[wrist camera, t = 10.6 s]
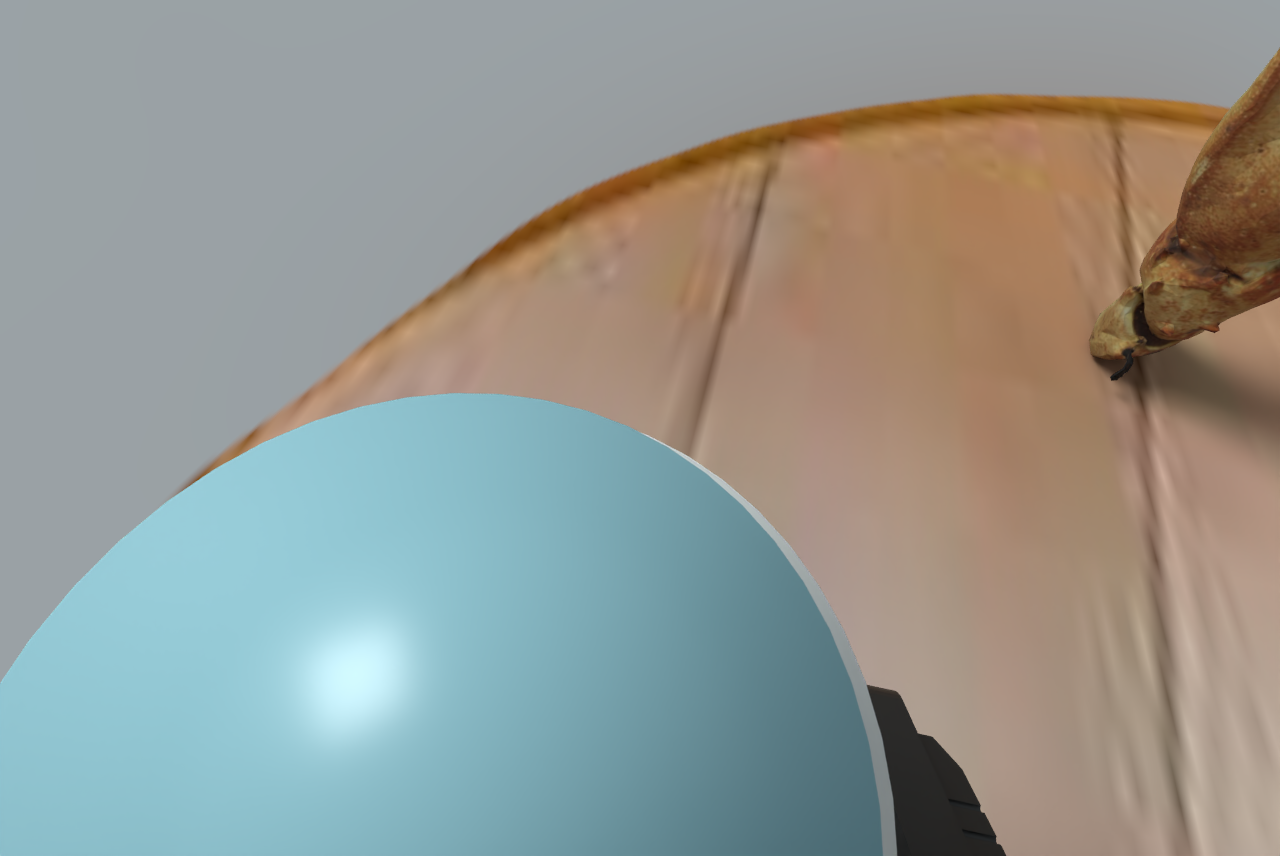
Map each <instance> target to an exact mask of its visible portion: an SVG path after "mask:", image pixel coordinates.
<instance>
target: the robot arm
mask: <svg viewBox="0 0 1280 856" xmlns="http://www.w3.org/2000/svg"><path fill="white" fill-rule="evenodd" d="M867 688H868V692H869V695H870V698H871V702H872V705H873V709H874V712H875V715H876V719H877V722H878V726H879V729H880V732H881V736H882V740H883V745H884V751H885V756H886V762H887V767H888V773H889V779H890V784H891V790H892V795H893V803H894V817H895V832H896V846H897V856H1006V854H1005V852H1004V850H1003V848H1002V846H1001V845H999V844H997V843H996V835H995V833H994V831H993V829H992V827H991V825H990V823H989V821H988V819H987V817H986V815H985V813H982V812H981V811H980V806H981V805H980V803H979V801H978V799H977V797H976V796H975V794H974V792H973V790H972V788H971V786H970V784H969V782H968V780H967V778H966V776H965V774H964V772H963V770H962V769H961V768H960V767H959V765H958V764H957V763H956V762H955V761H954V760H953V759H952V758H951V757H950V756H949V754H948V753H947V752H946V751H945V750H944V749H943V748H942V747H941V746H940V745H939V743H938V742H937V741H936V740H935V739H934V738H933V737H931V736H927V735H922V734H918V733H917V730H916V728H915V726H914V724H913V722H912V719H911V717H910V715H909V713H908V711H907V709H906V706H905V704H904V702H903V700H902V698H901V696H900V695H899V694H898V692H896V691H893V690H889V689H884V688H879V687H874V686H870V685H867Z"/></svg>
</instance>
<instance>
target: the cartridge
mask: <svg viewBox="0 0 1280 856" xmlns="http://www.w3.org/2000/svg"><path fill="white" fill-rule="evenodd" d="M0 856H897V846H896V832H895V817H894V803H893V795H892V790H891V784H890V779H889V773H888V767H887V762H886V756H885V751H884V745H883V740H882V736H881V732H880V729H879V726H878V722H877V719H876V715H875V712H874V709H873V705H872V702H871V698H870V695H869V692H868V688H867V685H866V682H865V679H864V677H863V675H862V672H861V670H860V667H859V665H858V663H857V660H856V658H855V655H854V653H853V651H852V648H851V646H850V644H849V641H848V639H847V636H846V634H845V632H844V630H843V628H842V626H841V624H840V623H839V621H838V619H837V617H836V615H835V614H834V612H833V610H832V608H831V606H830V605H829V603H828V601H827V599H826V598H825V596H824V594H823V592H822V590H821V589H820V587H819V585H818V584H817V582H816V581H815V580H814V578H813V577H812V575H811V574H810V573H809V571H808V570H807V568H806V567H805V566H804V564H803V563H802V562H801V560H800V559H799V557H798V556H797V555H796V553H795V552H794V550H793V549H792V548H791V546H790V545H789V544H788V543H787V542H786V541H785V539H784V538H783V537H782V536H781V535H780V534H779V533H778V532H777V531H776V530H775V528H774V527H773V526H772V525H771V524H770V523H769V522H768V521H767V520H766V519H765V518H764V516H763V515H762V514H761V513H760V512H759V511H758V510H757V509H756V508H755V507H754V506H752V505H751V504H750V503H749V502H748V501H747V500H745V499H744V498H743V497H742V496H741V495H740V494H739V493H737V492H736V491H735V490H734V489H733V488H732V487H731V486H729V485H728V484H727V483H726V482H725V481H724V480H722V479H721V478H719V477H718V476H716V475H715V474H713V473H712V472H710V471H709V470H707V469H706V468H704V467H703V466H702V465H700V464H699V463H697V462H696V461H694V460H693V459H691V458H690V457H688V456H687V455H685V454H683V453H681V452H679V451H677V450H675V449H673V448H671V447H669V446H668V445H666V444H664V443H662V442H660V441H658V440H656V439H654V438H652V437H650V436H648V435H646V434H643V433H640V432H638V431H636V430H634V429H632V428H630V427H628V426H626V425H623V424H620V423H618V422H615V421H612V420H610V419H607V418H605V417H602V416H599V415H597V414H594V413H591V412H589V411H586V410H582V409H578V408H574V407H570V406H566V405H562V404H558V403H554V402H550V401H546V400H540V399H533V398H525V397H517V396H510V395H502V394H465V393H451V394H440V395H429V396H419V397H408V398H402V399H397V400H392V401H387V402H382V403H377V404H372V405H368V406H363V407H358V408H355V409H352V410H349V411H345V412H342V413H339V414H336V415H333V416H329V417H326V418H323V419H320V420H317V421H313V422H310V423H308V424H306V425H303V426H301V427H299V428H296V429H294V430H292V431H289V432H287V433H285V434H282V435H280V436H278V437H275V438H273V439H271V440H268V441H266V442H263V443H262V444H260V445H258V446H256V447H254V448H252V449H251V450H249V451H247V452H245V453H243V454H241V455H240V456H238V457H236V458H234V459H232V460H231V461H229V462H227V463H225V464H223V465H221V466H220V467H218V468H216V469H214V470H213V471H211V472H210V473H208V474H207V475H205V476H204V477H202V478H201V479H199V480H198V481H197V482H195V483H194V484H192V485H191V486H189V487H188V488H186V489H185V490H183V491H182V492H180V493H179V494H177V495H176V496H174V497H173V498H172V499H170V500H169V501H167V502H166V503H165V504H163V505H162V506H161V507H160V508H159V509H157V510H156V511H155V512H154V513H153V514H151V515H150V516H149V517H148V518H147V519H145V520H144V521H143V522H142V523H140V524H139V525H138V526H137V527H136V528H135V529H133V530H132V531H131V532H130V533H129V534H127V535H126V536H125V537H124V538H123V539H121V540H120V541H119V542H118V543H117V544H116V545H115V546H114V547H113V548H112V549H111V550H110V551H109V552H108V553H107V554H106V555H105V556H104V557H103V558H102V559H101V560H100V561H99V562H98V563H97V564H96V565H95V566H94V567H93V568H92V569H91V570H90V571H89V572H88V573H87V574H86V575H85V576H84V577H83V578H82V579H81V580H80V581H79V582H78V583H77V584H76V585H75V586H74V587H73V588H72V589H71V591H70V592H69V593H68V594H67V595H66V597H65V598H64V599H63V600H62V601H61V603H60V604H59V605H58V606H57V607H56V609H55V610H54V611H53V612H52V613H51V615H50V616H49V617H48V618H47V619H46V621H45V622H44V623H43V624H42V626H41V627H40V628H39V629H38V630H37V632H36V633H35V634H34V635H33V636H32V638H31V639H30V640H29V642H28V643H27V645H26V646H25V648H24V649H23V651H22V652H21V654H20V655H19V656H18V658H17V659H16V661H15V662H14V664H13V665H12V667H11V668H10V670H9V671H8V673H7V674H6V676H5V677H4V679H3V680H2V681H1V683H0Z"/></svg>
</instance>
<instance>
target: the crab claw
mask: <svg viewBox="0 0 1280 856" xmlns="http://www.w3.org/2000/svg"><path fill="white" fill-rule="evenodd" d="M1140 275H1141V281H1142V283H1141V284H1139V285H1138V286H1136V287H1129V288H1128V289H1126V290H1125V292H1124V293H1123V294H1122V295H1121V297H1120V298H1119V299H1117V300H1116V301H1115V302H1113V303H1112V304H1111V305H1110V306H1109V307H1108V308H1106V309H1105V310H1104V311H1103V312H1102V313H1100V315H1099V317H1098V319H1097V321H1096V323H1095V326H1094V329H1093V332H1092V334H1091V337H1090V340H1089V342H1090V351H1091V355H1092V356H1094V357H1098V358H1102V359H1109V360H1117V359H1127V362H1126V364H1125V365H1124V367H1123V369H1121V370H1120V371H1118V372H1116V373H1115V374H1113V375H1112V376H1111V377H1110V378H1111V381H1113V380H1118V378H1120V377H1122V375H1123V374H1125V373H1126V372H1128V371H1129V369H1130V368H1131V366H1132V364H1133V358H1132V357H1135V356H1144V355H1148V354H1153V353H1156V352H1159V351H1161V350H1164V349H1166V348H1168V347H1171V346H1173V345H1176V344H1177V343H1179V342H1180V341H1182V340H1185V339H1189V338H1191V337H1193V336H1195V335H1198V334H1200V333H1202V332H1203V331H1204V330H1207V331H1210V332H1214V333H1215V332H1217V331H1220V330H1219V327H1218V326H1219V324H1220V323H1221V322H1223V321H1225V320H1227V319H1229V318H1231V317H1234V316H1236V315H1238V314H1241V313H1243V312H1245V311H1248V310H1250V309H1252V308H1254V307H1257V306H1260V305H1262V304H1265V303H1267V302H1270V301H1272V300H1274V299H1277V298H1279V297H1280V49H1279V50H1278V51H1277V53H1276V54H1275V55H1274V57H1273V58H1272V59H1271V60H1270V62H1269V63H1268V64H1267V65H1266V67H1265V68H1264V70H1263V71H1262V72H1261V73H1260V75H1259V76H1258V77H1257V78H1256V80H1255V81H1254V82H1253V84H1252V85H1251V86H1250V88H1249V89H1248V90H1247V91H1246V92H1245V93H1244V94H1243V95H1242V96H1241V97H1240V98H1239V100H1238V101H1237V102H1236V103H1235V104H1234V105H1233V106H1232V107H1231V109H1230V110H1229V111H1228V112H1227V113H1226V115H1225V116H1224V117H1223V119H1222V120H1221V122H1220V123H1219V124H1218V126H1217V127H1216V129H1215V130H1214V131H1213V133H1212V134H1211V136H1210V137H1209V139H1208V140H1207V142H1206V143H1205V145H1204V147H1203V148H1202V150H1201V152H1200V154H1199V155H1198V157H1197V159H1196V161H1195V163H1194V165H1193V167H1192V170H1191V173H1190V175H1189V177H1188V179H1187V182H1186V184H1185V187H1184V190H1183V193H1182V197H1181V201H1180V205H1179V209H1178V213H1177V218H1176V219H1175V220H1174V221H1173V222H1172V223H1171V224H1170V225H1169V226H1168V227H1167V228H1166V229H1165V230H1164V231H1163V233H1162V234H1161V235H1160V236H1159V238H1158V239H1157V240H1156V242H1155V243H1154V244H1153V246H1152V247H1151V249H1150V250H1149V252H1148V253H1147V255H1146V257H1145V258H1144V260H1143V262H1142V265H1141V267H1140Z"/></svg>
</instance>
